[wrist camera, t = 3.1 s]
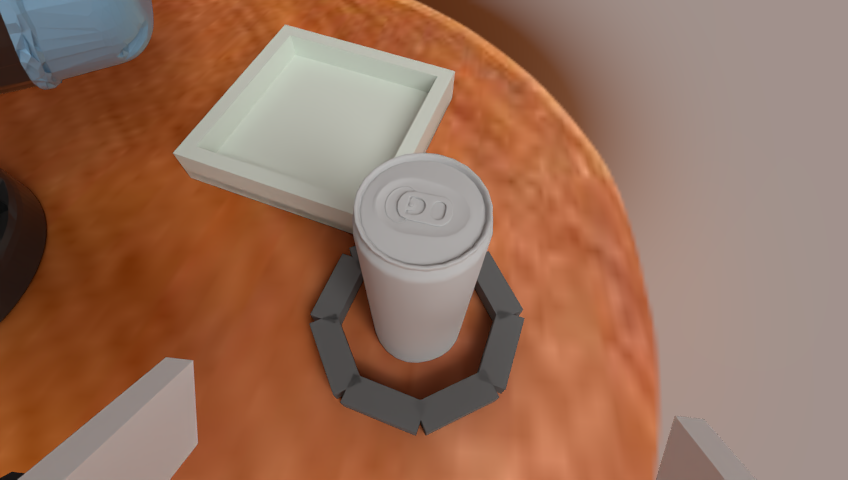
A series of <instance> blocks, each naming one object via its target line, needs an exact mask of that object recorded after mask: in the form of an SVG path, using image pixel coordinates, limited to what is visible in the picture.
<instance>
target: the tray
mask: <svg viewBox="0 0 848 480" xmlns="http://www.w3.org/2000/svg"><path fill="white" fill-rule="evenodd" d="M454 75H455V71H452V70H448V69H445V68H441V67H437V66H434V65H430V64H426V63H423V62H419V61H416V60H412V59H408V58H405V57H401V56H397V55H394V54H390V53H386V52H383V51H379V50H376V49H372V48H368V47H365V46H361V45H357V44H354V43H350V42H346V41H343V40H339V39H336V38H332V37H328V36H325V35H321V34H317V33H314V32H310V31H306V30H303V29H299V28H296V27H292V26H288V25H284V27H283V28H282V29H281V30H280V31H279V32H278V33H277V35H276V36H275V37H274V38H273V39H272V40H271V41H270V43H269V44H268V45H267V46H266V47H265V48H264V49H263V51H262V52H261V53H260V54H259V55H258V56H257V57H256V59H255V60H254V61H253V62H252V63H251V64H250V65H249V67H248V68H247V69H246V70H245V71H244V72H243V73H242V75H241V76H240V77H239V78H238V79H237V80H236V81H235V83H234V84H233V85H232V86H231V87H230V88H229V89H228V91H227V92H226V93H225V94H224V95H223V96H222V97H221V99H220V100H219V101H218V102H217V103H216V104H215V105H214V107H213V108H212V109H211V110H210V111H209V112H208V113H207V115H206V116H205V117H204V118H203V119H202V120H201V121H200V123H199V124H198V125H197V126H196V127H195V128H194V129H193V130H192V132H191V133H190V134H189V135H188V136H187V137H186V138H185V140H184V141H183V142H182V143H181V144H180V145H179V146H178V148H177V149H176V150H175V151H174V152H173V154H174V155H175V157H176V158H177V160H178V161H179V162H180V164H181V165H182V166H183V168H184V169H185V170H186V172H187V173H188V175H189V176H190V177H191V178H193V179H196V180H199V181H202V182H205V183H208V184H210V185H213V186H216V187H219V188H222V189H225V190H228V191H231V192H233V193H236V194H239V195H242V196H245V197H248V198H251V199H254V200H256V201H259V202H262V203H265V204H268V205H271V206H274V207H277V208H279V209H282V210H285V211H288V212H291V213H294V214H297V215H300V216H302V217H305V218H308V219H311V220H314V221H317V222H320V223H323V224H325V225H328V226H331V227H334V228H337V229H340V230H343V231H346V232H348V233H351V234H353V226H352V216H353V211H354V210H353V207H354V202H355V197H356V193H357V191H358V189H359V187H360V185H361V184H362V182H363V180H364V179H365V178H366V177H367V176H368V175H369V174H370V173H371V172H372V171H373V170H374V169H375V168H376V167H377V166H379V165H381V164H382V163H384V162H386V161H387V160H389V159H392V158H395V157H398V156H401V155H404V154H413V153H425V152H426V150H427V148H428V146H429V144H430V142H431V140H432V138H433V136H434V134H435V132H436V130H437V128H438V126H439V124H440V122H441V119H442V117H443V115H444V113H445V111H446V109H447V107H448V105H449V103H450V101H451V99H452V93H453V84H454Z"/></svg>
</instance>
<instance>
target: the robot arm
mask: <svg viewBox="0 0 848 480" xmlns="http://www.w3.org/2000/svg"><path fill="white" fill-rule="evenodd" d="M152 32H153V8H152V2H151V0H0V94H5V93H9V92H14V91H18V90H23V89H27V88H31V87H36V86H38V87H39V88H41V89H44V90H47V89H53V88H56V87H57V86H58V85H59V84H60V83H62V80H63V79H67V78H70V77H74V76H78V75H81V74H85V73H89V72H92V71H96V70H100V69H103V68H107V67H111V66H114V65H118V64H122V63H125V62H128V61H130V60H132V59H134V58H136V57H137V56H138V55H139V54H141V53H142V52H143V50H144V49H145V48H146V46H147V45H148V43H149V41H150V38H151V35H152ZM45 240H46V223H45V217H44V213H43V210H42V208H41V205H40V203H39V202H38V200H37V198H36V197H35V196H34V194H33V193H32V192H31V191H30V190H29V189H28V188H26V187H25V186H24V185H23V184H21V183H20V182H19V181H17V180H16V179H15V178H13V177H12V176H11V175H9V174H8V173H7V172H5V171H4V170H3V169H1V168H0V322H1V321H2V320H3V319H4V318H5V317H6V315H7V314H8V313H9V312H10V311H11V310H12V308H13V307H14V306H15V304H16V303H17V302H18V301H19V299H20V298H21V296H22V295H23V293H24V292H25V290H26V289H27V287H28V285H29V284H30V282H31V280H32V278H33V276H34V275H35V273H36V270H37V268H38V266H39V263H40V260H41V257H42V254H43V250H44V246H45ZM197 444H198V435H197V418H196V401H195V383H194V366H193V360H186V359H177V358H168V357H166V358H164V359H163V360H162V361H161V362H160V363H158V364H157V365H156V366H155V367H154V368H152V369H151V370H150V371H149V372H147V373H146V374H145V375H144V376H143V377H141V378H140V379H139V380H138V381H137V382H135V383H134V384H133V385H132V386H130V387H129V388H128V389H127V390H126V391H124V392H123V393H122V394H121V395H120V396H118V397H117V398H116V399H115V400H114V401H112V402H111V403H110V404H109V405H107V406H106V407H105V408H104V409H103V410H101V411H100V412H99V413H98V414H97V415H95V416H94V417H93V418H92V419H90V420H89V421H88V422H87V423H86V424H84V425H83V426H82V427H81V428H80V429H78V430H77V431H76V432H75V433H74V434H72V435H71V436H70V437H69V438H67V439H66V440H65V441H64V442H63V443H61V444H60V445H59V446H58V447H57V448H55V449H54V450H53V451H52V452H50V453H49V454H48V455H47V456H46V457H44V458H43V459H42V460H41V461H40V462H38V463H37V464H36V465H35V466H34V467H32V468H31V469H30V470H29V471H27V472H26V473H17V472H11V473H9V474H7V475H5V476H3V477H1V478H0V480H170V479H171V477H172V476H173V475H174V474H175V472H176V471H177V470H178V469H179V467H180V466H181V465H182V463H183V462H184V461H185V460H186V458H187V457H188V456H189V455H190V453H191V452H192V451H193V449H194V448H195V447H196V446H197ZM656 480H757V479H756V478H755V477H754V476H753V475H752V473H751V472H750V471H749V470H748V469H747V468H746V467H745V465H744V464H743V463H742V462H741V461H740V460H739V459H738V458H737V456H736V455H735V454H734V453H733V452H732V451H731V449H730V448H729V447H728V446H727V445H726V444H725V442H723V440H722V439H721V438H720V437H719V436H718V434H717V433H716V432H715V431H714V430H713V429H712V428H711V427H710V425H709V424H708V423H707V422H706V421H705V420H704V419H700V418H691V417H682V416H675V417H674V421H673V424H672V427H671V431H670V434H669V437H668V441H667V444H666V448H665V451H664V454H663V458H662V461H661V464H660V468H659V471H658V475H657V478H656Z"/></svg>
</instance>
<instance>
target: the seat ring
mask: <svg viewBox="0 0 848 480" xmlns="http://www.w3.org/2000/svg"><path fill="white" fill-rule="evenodd" d="M349 249H350V253H351V256H348V255H345V254H342V256H341V258H340V260H339V261H338V263H337V265H336V267H335V269H334V271H333V273H332V275H331V276H330V278H329V280H328V282H327V284H326V286H325V288H324V290H323V292H322V293H321V295H320V297H319V299H318V301H317V303H316V305H315V307H314V308H313V310H312V312H311V314H310V315H311V316H312V318H313V320H314V322H312V323H310V327H311V330H312V333H313V336H314V339H315V342H316V345H317V348H318V351H319V354H320V357H321V360H322V363H323V366H324V369H325V372H326V375H327V378H328V381H329V384H330V386H331V389H332V392H333V395H334V396H335V397H336V398H340V397H342V396H343V397H342V400H341V402H340V403H341V404H342V405H343V406H345V407H347V408H350V409H352V410H355V411H357V412H359V413H362V414H364V415H367V416H369V417H371V418H374V419H376V420H379V421H381V422H384V423H386V424H388V425H391V426H393V427H396V428H398V429H400V430H403V431H405V432H408V433H410V434H412V435H415V436H416V433H417V431H418V428H419V425H420V423H421V425H422V427H423V430H424V432H425V435H428V434H430V433H432V432H434V431H436V430H438V429H440V428H442V427H444V426H446V425H448V424H450V423H452V422H454V421H456V420H458V419H460V418H462V417H464V416H466V415H468V414H470V413H472V412H474V411H476V410H478V409H480V408H482V407H484V406H486V405H488V404H490V403H492V402H494V401H496V400H497V399H498V398H499V396H498V394H497V392H498V393H502V392H503V391H504V390H505V389H506V386H507V382H508V378H509V374H510V371H511V367H512V363H513V359H514V355H515V352H516V348H517V344H518V340H519V337H520V333H521V329H522V325H523V322H524V318H522V317H519V315H520V313H521V312H522V310H523V309H522V307H521V305H520V303H519V302H518V300H517V298H516V297H515V295H514V293H513V292H512V290H511V288H510V287H509V285H508V283H507V282H506V280H505V278H504V276H503V275H502V273H501V271H500V270H499V268H498V266H497V265H496V263H495V261H494V260H493V258H492V256H491V255H490V253H489V251H487V252H486V255H485V258H484V261H483V264H482V267H481V270H480V273H479V275H478V278H477V281H476V284H475V287H474V288H475V290H476V292H477V294H478V295H479V297H480V299H481V301H482V303H483V305H484V306H485V308H486V310H487V312H488V314H489V316H490V317H491V319H492V321H493V322H492V326H491V329H490V332H489V335H488V339H487V342H486V345H485V349H484V352H483V355H482V359H481V362H480V365H479V368H478V372H477V373H476V374H474V375H472V376H470V377H468V378H466V379H464V380H462V381H459V382H457V383H455V384H453V385H451V386H449V387H447V388H445V389H443V390H441V391H438V392H436V393H434V394H432V395H430V396H428V397H426V398H424V399H422V400H419V399H416V398H414V397H412V396H409V395H407V394H404V393H402V392H399V391H397V390H394V389H392V388H389V387H387V386H384V385H382V384H379V383H377V382H374V381H372V380H369V379H367V378H364V377H362V376H360V374H359V372H358V369H357V366H356V364H355V361H354V358H353V356H352V353H351V350H350V347H349V345H348V342H347V339H346V337H345V334H344V331H343V329H342V326H341V325H342V323H343V321H344V319H345V317H346V314H347V312H348V310H349V308H350V306H351V304H352V302H353V300H354V298H355V296H356V294H357V292H358V290H359V288H360V286H361V284H362V282H363V275H362V271H361V267H360V262H359V258H358V254H357V250H356V246H353V247H351V248H349Z"/></svg>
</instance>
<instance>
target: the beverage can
mask: <svg viewBox="0 0 848 480" xmlns="http://www.w3.org/2000/svg"><path fill="white" fill-rule="evenodd" d="M353 210H354V211H353V216H352V226H353V236H354V241H355V245H356V250H357V254H358V258H359V262H360V267H361V271H362V275H363V280H364V284H365V288H366V292H367V297H368V301H369V305H370V310H371V314H372V318H373V322H374V327H375V331H376V334H377V336H378V339H379V341H380V343H381V344H382V346H383V347H384V348H385V349H386V351H387V352H389V353H390V354H391V355H393V356H394V357H395V358H397V359H400V360H403V361H405V362H416V363H420V362H425V361H430V360H433V359H435V358H438V357H440V356H442V355H443V354H445V353H446V352H447V351H449V350H450V349H451V347H452V346H453V345H454V343H455V342H456V340H457V337H458V334H459V332H460V329H461V326H462V323H463V320H464V317H465V314H466V311H467V308H468V305H469V302H470V299H471V296H472V293H473V290H474V287H475V284H476V281H477V278H478V275H479V273H480V270H481V267H482V264H483V261H484V258H485V255H486V252H487V249H488V246H489V243H490V240H491V237H492V234H493V215H492V212H493V205H492V202H491V198H490V195H489V192H488V190H487V188H486V187H485V185H484V184H483V182H482V180H481V179H480V178H479V177H478V176H477V175H476V174H475V173H474V172H473V171H472V170H471V169H470V168H469V167H467V166H465V165H464V164H462V163H460V162H458V161H456V160H455V159H452V158H449V157H446V156H442V155H439V154H431V153H413V154H404V155H401V156H398V157H395V158H392V159H389V160H387V161H386V162H384V163H382V164H381V165H379V166H377V167H376V168H375V169H374V170H373V171H372V172H371V173H370V174H369V175H368V176H367V177H366V178H365V179H364V180H363V182H362V184H361V185H360V187H359V189H358V191H357V193H356V197H355V202H354V207H353Z"/></svg>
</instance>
